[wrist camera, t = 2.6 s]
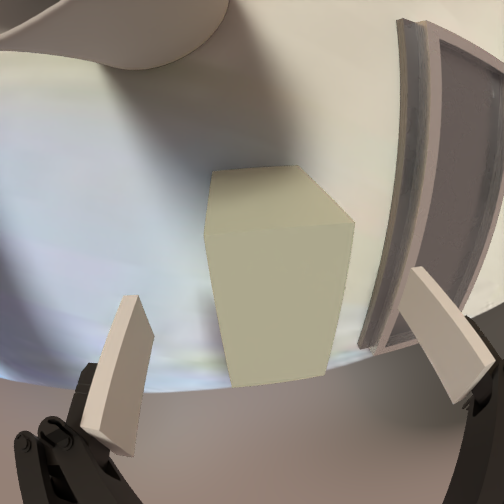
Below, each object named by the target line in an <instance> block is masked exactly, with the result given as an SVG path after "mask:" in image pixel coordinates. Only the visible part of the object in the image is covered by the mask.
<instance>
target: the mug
mask: <svg viewBox="0 0 504 504" xmlns="http://www.w3.org/2000/svg"><path fill="white" fill-rule="evenodd" d="M228 4H229V0H0V51H18V52H31V53H41V54H50V55H57V56H64V57H70V58H76V59H82V60H87V61H92V62H96V63H100V64H104V65H107V66H110V67H114V68H119V69H125V70H143V69H150V68H156V67H159V66H163V65H166V64H169V63H171V62H174V61H176V60H178V59H180V58H182V57H184V56H186V55H188V54H189V53H191V52H193V51H194V50H195V49H197V48H198V47H199V46H201V45H202V44H203V43H204V42H205V41H206V40H208V39H209V38H210V36H211V35H212V34H213V33H214V32H215V31H216V29H217V28H218V27H219V25H220V24H221V22H222V20H223V18H224V16H225V14H226V11H227V8H228Z"/></svg>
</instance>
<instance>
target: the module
mask: <svg viewBox="0 0 504 504" xmlns="http://www.w3.org/2000/svg"><path fill="white" fill-rule="evenodd" d="M354 228H355V222H354V221H353V220H352V219H351V218H350V217H349V215H348V214H347V213H346V212H345V211H344V210H343V209H342V208H341V207H340V206H339V205H338V204H337V203H336V202H335V201H334V200H333V199H332V198H331V197H330V196H329V195H328V194H327V193H326V192H325V191H324V190H323V189H322V188H321V187H320V186H319V185H318V184H317V183H316V182H315V181H314V180H313V179H312V178H311V177H310V176H309V175H308V174H307V173H305V172H304V171H303V170H302V169H301V168H300V167H299V166H298V165H293V166H272V167H256V168H242V169H231V170H220V171H212V176H211V183H210V190H209V197H208V205H207V212H206V220H205V228H204V241H205V247H206V254H207V260H208V266H209V272H210V278H211V284H212V290H213V295H214V301H215V306H216V312H217V317H218V322H219V328H220V333H221V338H222V343H223V348H224V353H225V358H226V362H227V367H228V372H229V376H230V381H231V385H232V388H236V387H247V386H256V385H266V384H273V383H281V382H288V381H294V380H301V379H306V378H312V377H317V376H323V375H325V371H326V368H327V364H328V360H329V356H330V352H331V349H332V345H333V340H334V336H335V332H336V328H337V323H338V319H339V314H340V310H341V305H342V300H343V295H344V290H345V284H346V279H347V273H348V268H349V262H350V255H351V249H352V242H353V235H354Z"/></svg>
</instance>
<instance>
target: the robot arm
mask: <svg viewBox="0 0 504 504" xmlns="http://www.w3.org/2000/svg"><path fill="white" fill-rule="evenodd" d="M398 310H399V311H400V313H401V315H402V316H403V318H404V319H405V321H406V322H407V324H408V326H409V327H410V329H411V330H412V332H413V334H414V335H415V337H416V338H417V340H418V342H419V343H420V345H421V347H422V348H423V350H424V352H425V353H426V355H427V357H428V359H429V360H430V362H431V364H432V365H433V367H434V369H435V371H436V373H437V375H438V376H439V378H440V380H441V382H442V384H443V385H444V388H445V389H446V391H447V393H448V395H449V397H450V399H451V401H452V403H453V404H455V403H457V402H459V401H460V400H462V399H464V398H465V397H466V396H467V395H468V394H469V393H470V391H472V393H473V395H472V396H471V397H470V398H469V399H468V400H467V402H466V403H465V404H464V405H463V407H462V409H464V408H465V407H466V406H467V405H468V404H469V403H470V404H469V406H468V408H467V409H466V410H468V416H467V422H466V427H465V432H464V436H463V441H462V445H461V449H460V453H459V457H458V460H457V463H456V467H455V470H454V473H453V476H452V479H451V482H450V485H449V488H448V491H447V493H446V496H445V498H444V501H443V503H442V504H504V359H503V360H502V359H501V358H500V357H499V355H498V354H497V352H496V351H495V349H494V348H493V346H492V345H491V343H490V342H489V341H488V339H487V338H486V337H484V334H483V332H482V331H480V328H479V327H478V326H477V324H476V323H475V322H474V321H473V320H472V319H470V318H469V317H468V316H464V315H463V314H462V313H461V312H460V310H459V309H458V308H457V307H456V305H455V304H454V303H453V302H452V300H451V299H450V298H449V297H448V296H447V294H446V293H445V292H444V291H443V290H442V288H441V287H440V286H439V285H438V284H437V283H436V281H435V280H434V279H433V278H432V277H431V276H430V275H429V274H428V272H427V271H426V270H425V269H424V268H423V267H422V266H420V267H414V268H411V269H410V273H409V276H408V279H407V283H406V286H405V289H404V292H403V295H402V298H401V301H400V304H399V306H398ZM153 341H154V334H153V331H152V329H151V326H150V324H149V322H148V319H147V317H146V314H145V311H144V309H143V306H142V304H141V301H140V298H139V296H138V295H127V296H123V298H122V301H121V303H120V305H119V308H118V310H117V313H116V315H115V318H114V320H113V323H112V326H111V328H110V331H109V334H108V336H107V339H106V342H105V345H104V347H103V350H102V353H101V356H100V359H99V362H98V363H88V364H87V366H86V367H85V368H84V369H83V371H82V372H81V375H80V378H79V381H78V385H77V387H76V390H75V392H76V393H75V394H74V396H73V399H72V403H71V406H70V409H69V413H68V416H67V420H66V423H65V422H64V421H63V420H61V419H60V418H58V417H55V416H50V417H46V418H45V419H44V420H43V421H42V422H41V423H40V425H39V428H38V437H36V436H35V435H33V434H32V433H31V432H29V431H22V432H20V433H19V434H18V435H17V436H16V438H15V440H14V451H15V460H16V468H17V474H18V480H19V485H20V490H21V495H22V499H23V504H143V503H142V502H141V501H140V499H139V498H138V497H137V495H136V494H135V493H134V491H133V490H132V489H131V487H130V486H129V485H128V483H127V482H126V480H125V479H124V477H123V476H122V474H121V473H120V472H119V470H118V469H117V467H116V465H115V464H114V462H113V461H112V459H111V458H110V457H109V452H110V450H111V451H112V452H113V453H115V454H116V455H122V456H127V457H134V451H135V443H136V435H137V428H138V421H139V415H140V409H141V403H142V397H143V391H144V385H145V380H146V375H147V370H148V365H149V360H150V355H151V350H152V345H153Z"/></svg>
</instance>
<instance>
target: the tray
mask: <svg viewBox="0 0 504 504" xmlns="http://www.w3.org/2000/svg"><path fill="white" fill-rule="evenodd" d="M396 22H397V31H398V43H399V58H400V127H399V143H398V155H397V165H396V174H395V183H394V190H393V197H392V204H391V210H390V216H389V222H388V228H387V233H386V238H385V243H384V248H383V253H382V257H381V262H380V266H379V270H378V274H377V278H376V282H375V286H374V290H373V294H372V297H371V301H370V305H369V308H368V312H367V315H366V318H365V322H364V325H363V328H362V331H361V334H360V337H359V340H358V343H357V344H358V346H359V348H360V349H364V348H368V347H369V349H370V351H371V353H372V355H373V356H376V355H380V354H383V353H387V352H391V351H394V350H398V349H401V348H404V347H408V346H411V345H414V344H417V343H419V342H418V340H417V338H416V337H415V335H414V334H413V332H412V330H411V329H410V327H409V326H408V324H407V322H406V321H405V319H404V318H403V316H402V315H401V313H400V311H399V310H398V306H399V304H400V301H401V298H402V295H403V292H404V289H405V286H406V283H407V279H408V276H409V273H410V269H411V268H414V267H420V266H422V267H423V268H424V269H425V270H426V271H427V272H428V274H429V275H430V276H431V277H432V278H433V279H434V280H435V281H436V283H437V284H438V285H439V286H440V287H441V288H442V290H443V291H444V292H445V293H446V294H447V296H448V297H449V298H450V299H451V300H452V302H453V303H454V304H455V305H456V307H457V308H458V309H459V310H460V312H462V310H463V308H464V306H465V304H466V302H467V300H468V298H469V295H470V293H471V291H472V289H473V286H474V284H475V282H476V280H477V277H478V275H479V272H480V270H481V267H482V265H483V262H484V259H485V257H486V254H487V251H488V248H489V245H490V242H491V239H492V236H493V233H494V230H495V227H496V223H497V220H498V216H499V212H500V208H501V204H502V200H503V196H504V63H503V62H502V61H500V60H499V59H497V58H496V57H494V56H493V55H491V54H490V53H488V52H486V51H485V50H483V49H481V48H480V47H478V46H476V45H475V44H473V43H471V42H469V41H468V40H466V39H464V38H462V37H460V36H458V35H457V34H455V33H453V32H451V31H449V30H447V29H444V28H442V27H440V26H438V25H436V24H434V23H431V22H429V21H427V20H425V21H420V22H416V23H415V22H412V21H409V20H406V19H404V18H402V19H399V20H396Z"/></svg>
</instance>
